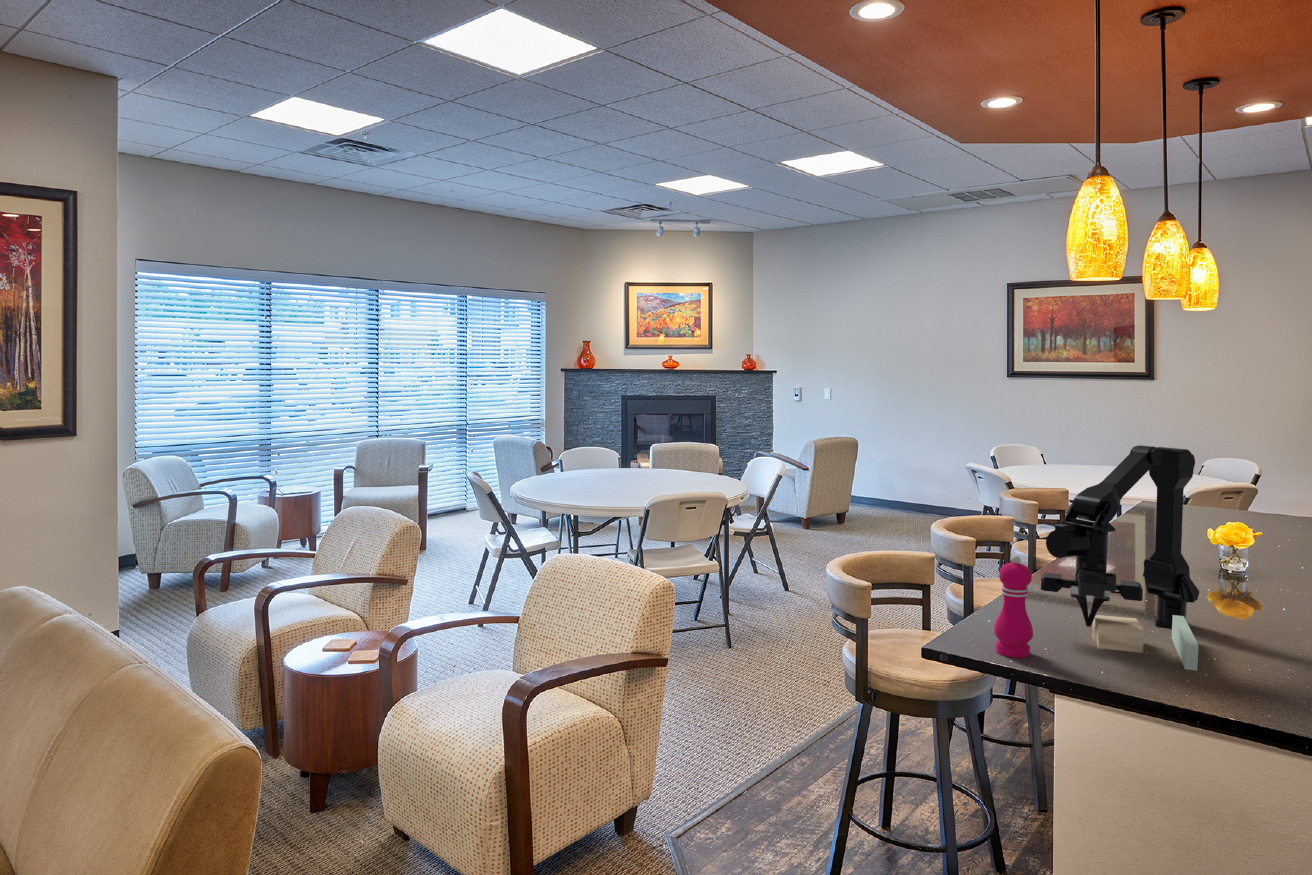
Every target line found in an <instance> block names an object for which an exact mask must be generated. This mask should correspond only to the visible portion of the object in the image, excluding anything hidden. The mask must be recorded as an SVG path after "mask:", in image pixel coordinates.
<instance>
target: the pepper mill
mask: <svg viewBox="0 0 1312 875" xmlns="http://www.w3.org/2000/svg"><path fill="white" fill-rule="evenodd" d="M1010 561H1011V562H1007V563H1005V564H1003V565H1002V566H1001V567H1000V569H999V572H998V573H999V574H998V577H999V580H1000V582H1001V583H1002V584H1003V585H1002V586H1001V591H1000V593H1001V594H1002V595H1003V603H1002V608H1001V611H1000V613H999V615H998V617H997V618H996V621H995V624H994V627H993V631H994V635H995V637H996V638H997V639H998V641H996V644H995V650H996V653H997V654H998V655H1002V656H1005V657H1009V658H1014V659H1015V658H1016V659H1017V658H1018V659H1021V658H1027V657H1029V656H1030V654H1031V653H1030V651H1031V646H1030V645H1029V642H1030V641H1032V639H1033V636H1034V628H1033V625H1032V622H1031V620H1030V618H1029V615H1028V613H1027V607H1026V600H1027V597H1028V596H1029V588H1028V586H1029V585H1030V583H1032V580H1033V579H1032V572H1031V570H1030V568H1029V567H1028V566H1026V565H1025V564H1023V563H1021V557H1020V556H1019V555H1012V556H1011V558H1010Z"/></svg>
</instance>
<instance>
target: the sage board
mask: <svg viewBox="0 0 1312 875" xmlns="http://www.w3.org/2000/svg"><path fill="white" fill-rule="evenodd" d="M1189 626H1190V625H1189V622H1188V620H1187V619H1186V620H1185V618H1184V616H1177V615H1173V620H1172V627H1171V640H1172V642H1173V645H1174V646H1175V649H1176V652H1177V654H1178V657H1179V659H1180V661H1181V664H1182V666H1183V668H1184V670H1189V671H1196V672H1197V671H1198V663H1199V662H1198V660H1199V643H1198V642H1197V639H1196V638H1195V635H1194V633H1193V632H1192V630H1191V628H1190V627H1189Z"/></svg>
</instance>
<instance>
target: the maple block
mask: <svg viewBox="0 0 1312 875" xmlns="http://www.w3.org/2000/svg"><path fill="white" fill-rule="evenodd" d="M1092 638H1093V640H1094V642H1095V644H1096V647H1097V649H1100V650H1111V651H1112V650H1113V651H1122V652H1132V653H1140V654H1141V653H1142V654H1143V653H1144V643H1145V641H1144V640H1145V639H1144V638H1145V629H1144V627H1143V626H1142V625H1141V624H1140V622H1139V620H1138V619H1137V618H1134V617H1124V616H1114V615H1101V614H1096V615H1095V618H1094V620H1093V622H1092Z"/></svg>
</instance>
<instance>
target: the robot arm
mask: <svg viewBox="0 0 1312 875" xmlns="http://www.w3.org/2000/svg"><path fill="white" fill-rule="evenodd" d="M1195 466H1196V458H1195V455H1194V454H1192V452H1191V451H1190V450H1189V449H1186V448H1179V447H1178V448H1175V447H1165V446H1157V447H1156V446H1150V445H1140V444H1139V445H1136V446H1135V445H1134V446H1133V447H1132V448H1131V449H1130V452H1129V454H1128V455H1127V456H1126V457H1125V458H1124V459H1123V460H1122V461H1121V462H1120V463H1119V464H1117V466H1116V467H1115V468H1113V470H1112V471H1111V472H1110V473H1109V474H1108V475H1107V476H1106V477H1105V478H1104V479H1103V480H1101V482H1099V483H1097V484H1094V485H1091V486H1089V487H1086V488H1085V489H1083V490H1082V491H1080V492H1078V494H1076V496H1075V497H1073V500H1072V502H1071V505H1070V507H1069V508H1068V510H1067V511H1066V513H1065V515H1064V517H1063V519H1062V521H1061V523H1058V524H1055V525H1054V530H1052V531H1051V532H1049V533H1048V535H1047V537H1046V538H1045V545H1046V546H1045V547H1046V549H1047V551H1048V553H1049V554H1050V555H1051V556H1052V557H1053V558H1056V559H1063V558H1064V559H1065V558H1074V557H1076V558H1075V576H1074V578H1075V579H1069V578H1062V576H1063V574H1062V573H1054V572H1043V573H1042V574H1041V580H1040V591H1044V592H1052V593H1058V592H1060V591H1061V590H1062V589H1069V590H1070V597H1071V598H1072V599H1073V598H1074V599H1076V601H1077V603H1078V605H1079V606H1080V609H1081V613H1082V616H1083V619H1084V623H1085V625H1086V627H1087V628H1090V627H1091V628H1092V626H1093V620H1094V618H1095V615H1097V614H1098V611H1099V609H1100V608H1101V606H1102V605H1103V603H1104V602H1111V596H1110V595H1111V594H1118V595H1119V594H1120V596H1121V597H1122V598H1123V600H1127V601H1136V602H1142V601H1143V598H1144V597H1143V594H1144V593H1143V591H1144V590H1143V587H1142V585H1141V583H1140V582H1139V581H1134V580H1133V581H1132V580H1125V579H1124V580H1123V579H1119V582H1118V584H1117V574H1116V573H1111V572H1108V569H1107V566H1108V547H1109V544H1108V543H1109V533H1113V532H1116V528H1115V527H1114V525H1112V524H1111V523H1110V522H1111V521H1112V520H1113V519H1114V518H1115V516H1116V515H1117V514H1118V512H1119V510H1120V509H1121V501H1122V499H1123V497H1124V496H1125V495H1126V494H1127V493H1128V492H1129V491H1130V490H1131V489H1133V487H1134V486H1135V485H1136V484H1137V483H1138V482H1139V481H1140V480H1141V479H1142V478H1143V477H1144V476H1145V475H1146V474H1147V473H1148V472H1149V473H1148V475H1149V477H1150V479H1151V480H1152V482H1153V484H1154V485H1155V487H1156V507H1155V508H1156V509H1155V511H1156V512H1155V533H1154V534H1155V535H1154V552H1153V553H1152V554H1151V555H1150V557H1149V558H1145V559H1144V561H1143V574H1142V577H1143V578H1144V584H1145V587H1146V588H1145V589H1146V591H1147V594H1149V595H1154V596H1156V612H1155V613H1156V614H1155V615H1152V620H1153V623H1154V625H1155V626H1157V627H1165V628H1166V627H1168V628H1172V620H1173V615H1177V616H1184V618H1185V620H1186V621H1187V608H1188V603H1192V604H1193V603H1195V602H1196V601H1198V599H1199V595H1200V589H1198V587H1197V586H1196V585H1195V583H1194V581H1193V580H1192V578H1191V576H1190V575H1191V573H1190V566H1189V564H1188V562H1187V560H1186V559H1185V557H1184V556H1183V554H1182V539H1183V538H1182V537H1183V536H1182V535H1183V516H1184V515H1183V514H1184V511H1183V510H1184V489H1185V488H1186V487H1187V485H1188V483H1189V482H1190V481H1191V480H1192V478H1193V476H1194V469H1195ZM1087 596H1091V602H1090V608H1088V599H1087ZM1189 627H1190V625H1189Z"/></svg>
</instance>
